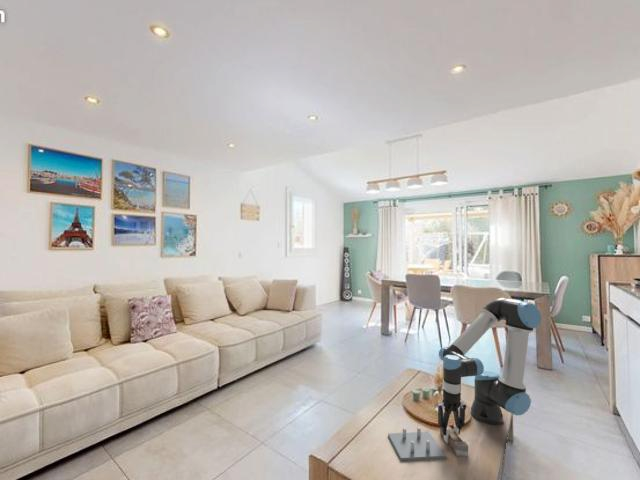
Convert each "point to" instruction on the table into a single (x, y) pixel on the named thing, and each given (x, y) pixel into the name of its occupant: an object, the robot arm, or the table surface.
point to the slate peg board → (416, 446)
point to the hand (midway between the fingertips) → (451, 441)
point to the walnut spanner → (456, 442)
